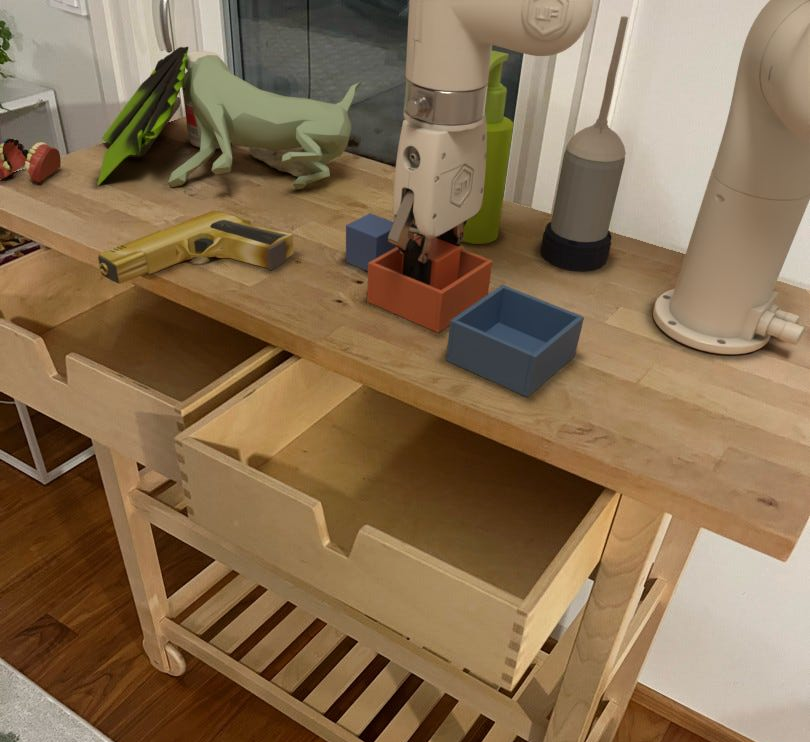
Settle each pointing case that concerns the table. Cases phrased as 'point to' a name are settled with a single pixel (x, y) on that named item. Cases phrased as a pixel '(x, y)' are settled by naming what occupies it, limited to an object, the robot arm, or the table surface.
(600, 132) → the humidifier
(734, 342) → the robot arm
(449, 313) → the terracotta bin
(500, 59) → the soap dispenser
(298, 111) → the statue
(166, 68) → the cloth
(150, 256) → the handgun
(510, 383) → the blue bin
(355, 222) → the blue block
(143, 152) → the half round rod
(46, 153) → the dentures
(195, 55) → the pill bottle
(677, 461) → the table surface
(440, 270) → the terracotta block
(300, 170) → the sponge
